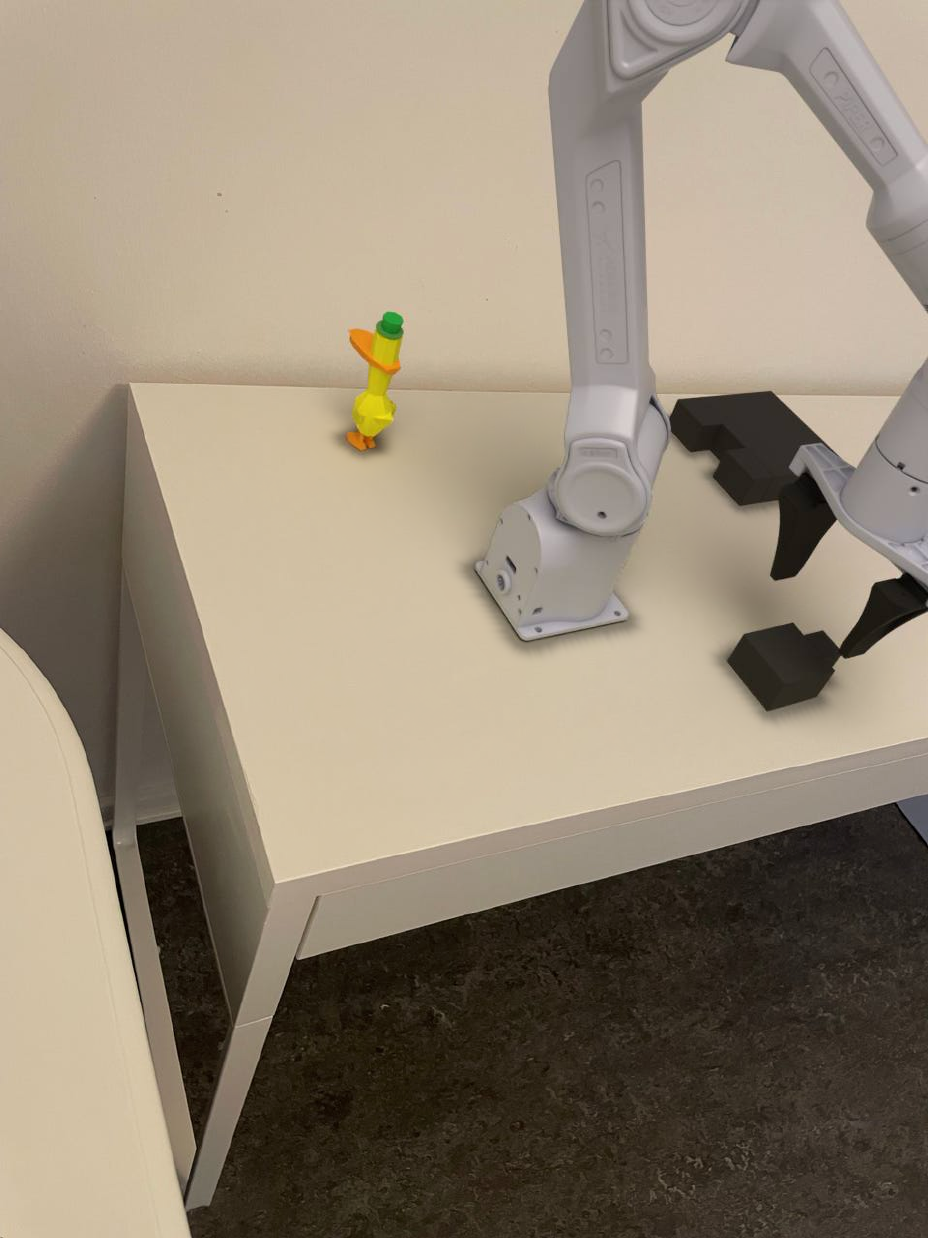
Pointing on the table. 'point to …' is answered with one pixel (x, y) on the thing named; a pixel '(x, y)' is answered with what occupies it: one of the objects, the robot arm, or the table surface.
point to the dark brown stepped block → (784, 664)
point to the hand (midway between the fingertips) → (815, 613)
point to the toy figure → (376, 378)
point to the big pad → (745, 440)
